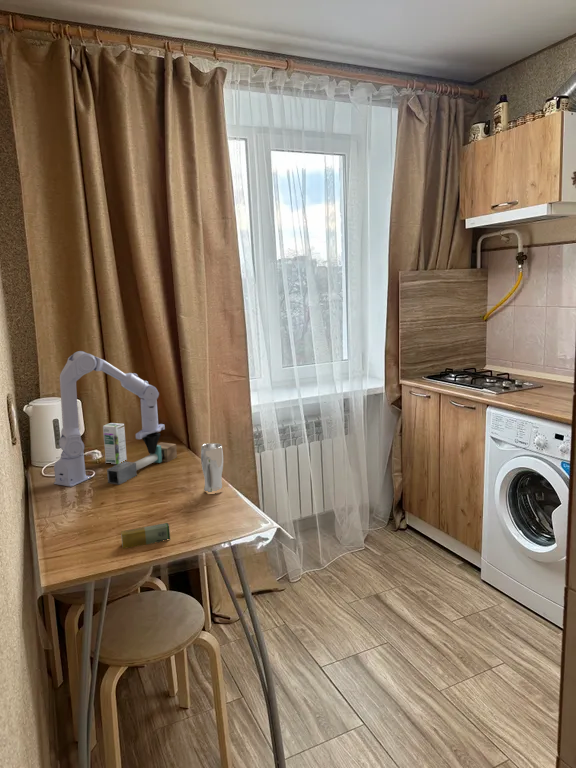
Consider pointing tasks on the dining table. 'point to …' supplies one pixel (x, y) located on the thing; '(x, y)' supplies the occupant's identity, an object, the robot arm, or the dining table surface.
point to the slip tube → (150, 458)
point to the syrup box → (114, 443)
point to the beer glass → (212, 466)
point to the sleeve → (121, 472)
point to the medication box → (145, 535)
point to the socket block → (168, 451)
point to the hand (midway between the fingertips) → (152, 453)
